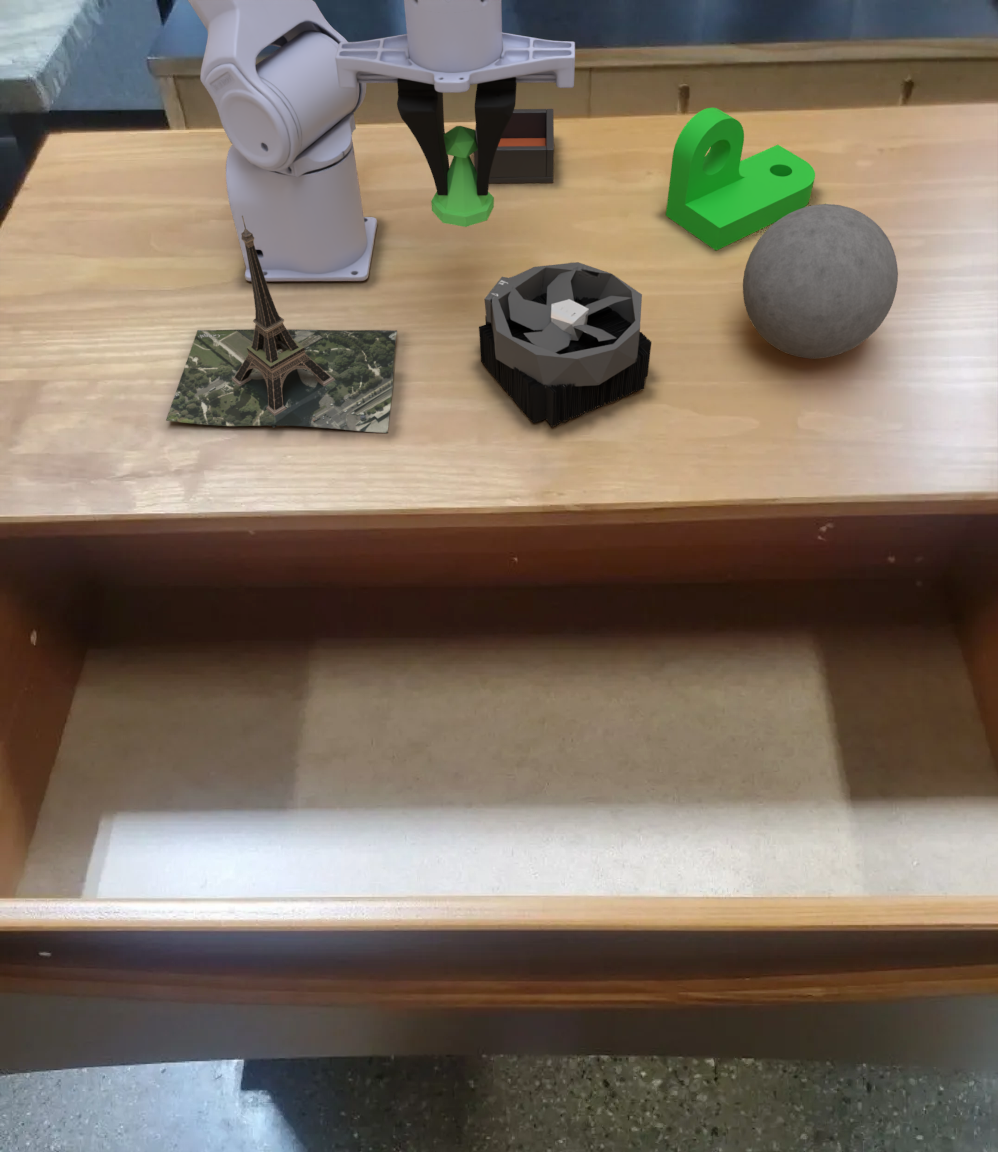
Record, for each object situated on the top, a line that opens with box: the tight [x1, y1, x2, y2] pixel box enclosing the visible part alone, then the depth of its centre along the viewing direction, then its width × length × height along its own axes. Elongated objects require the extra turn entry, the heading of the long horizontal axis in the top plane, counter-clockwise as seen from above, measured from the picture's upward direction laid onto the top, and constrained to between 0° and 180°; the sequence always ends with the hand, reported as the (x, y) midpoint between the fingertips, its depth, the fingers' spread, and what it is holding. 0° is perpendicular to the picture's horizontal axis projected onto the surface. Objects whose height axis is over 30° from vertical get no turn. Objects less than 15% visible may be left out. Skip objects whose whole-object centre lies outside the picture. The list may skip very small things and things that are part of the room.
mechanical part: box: [665, 107, 816, 252], centre depth 80 cm, size 12×6×8 cm, turn 125°
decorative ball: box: [742, 203, 899, 359], centre depth 69 cm, size 10×10×10 cm
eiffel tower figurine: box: [165, 216, 398, 434], centre depth 66 cm, size 15×10×13 cm
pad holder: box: [473, 108, 555, 184], centre depth 87 cm, size 7×7×3 cm
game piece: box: [430, 125, 495, 228], centre depth 68 cm, size 4×4×6 cm
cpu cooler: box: [478, 261, 652, 428], centre depth 69 cm, size 10×6×10 cm
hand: (463, 187), depth 69 cm, fingers closed on game piece, 2 cm apart
